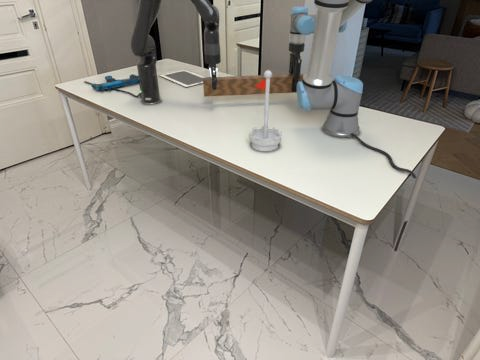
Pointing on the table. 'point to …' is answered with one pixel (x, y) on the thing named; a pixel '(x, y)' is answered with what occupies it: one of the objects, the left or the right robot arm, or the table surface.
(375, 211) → the table surface
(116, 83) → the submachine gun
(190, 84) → the tablet
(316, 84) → the right robot arm
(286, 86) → the beam
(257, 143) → the flag stand
